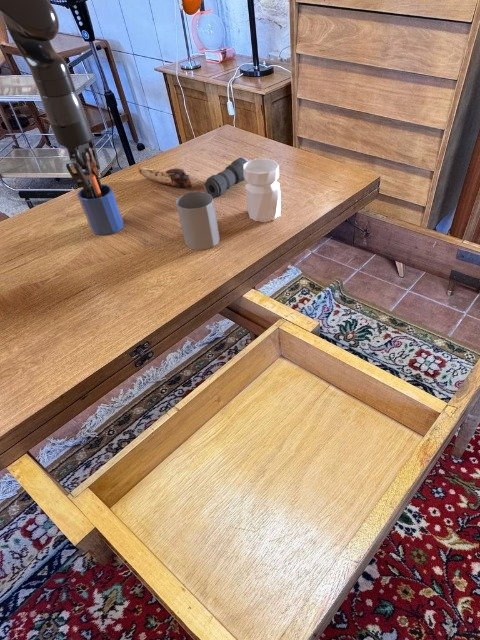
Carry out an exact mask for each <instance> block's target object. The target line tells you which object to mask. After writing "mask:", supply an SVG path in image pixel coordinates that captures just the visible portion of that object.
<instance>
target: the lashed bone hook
mask: <svg viewBox="0 0 480 640" xmlns="http://www.w3.org/2000/svg"><path fill="white" fill-rule="evenodd" d="M138 173H139V174H140V175H141V176H143V177H144V178H146V179H147V180H149V181H154V182H156V183H159V184H162V185H168V186H172V187H177V188H191V187H193V184H192V181H191V179H190V177H189V174H187V173H186V170H185V169H184V168H179V167H177V168H175V167H174V168H170V169H168V170H165V171H160V170H157V169H152V168H148V167H143V166H140V167H138Z"/></svg>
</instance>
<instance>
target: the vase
mask: <svg viewBox="0 0 480 640" xmlns="http://www.w3.org/2000/svg"><path fill="white" fill-rule="evenodd" d="M243 172H244V179H245V180H244V181H245V182H247V183H246V184H245V185H244V188H245V193H246V208H247V209H246V210H247V213H248V217H249V219H250V218H251V219H250V220H252V219H253V220H252V221H254V222H256V221H260V222H259V223H268V221H269V222H272V221H271V220H274V221H276V220H277V219H278V218H277V217H279V216H280V217H281V213H282V212H281V211H282V209H281V208H282V207H281V202H282V201H281V200H282V199H281V198H282V197H281V186H280V185H281V184H280V183H279V181H277V180H278V179H279V178H280V165H279V163H278V162H277V161H276V160H274V159H270V158H255V159H250V160H248V162H246V163H245V164H243ZM280 217H279V218H280ZM276 218H277V219H276ZM275 219H276V220H275Z"/></svg>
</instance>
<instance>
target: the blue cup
mask: <svg viewBox="0 0 480 640" xmlns="http://www.w3.org/2000/svg"><path fill="white" fill-rule="evenodd" d="M101 185H102V188H103V192H102V193H101V194H102V197H100V198H95V199H87V196H86V193H85V191H84V188H80V190H78V192H77V193H76V195H77V198H78V201H79V204H80V206H81V209H82V211H83V213H84V215H85V218H86V220H87V223H88V225H89V227H90V230H91V232H92V233H93V234H95V235H98V236H110V235H113V234H116V233H118V232H120V231H121V230H123V228H124V226H125V223H124V220H123V217H122V214H121V211H120V208H119V205H118V202H117V200H116V196H115V193H114V191H113V188H112V187H111V186H110V185H108V184H104V183H101Z"/></svg>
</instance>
